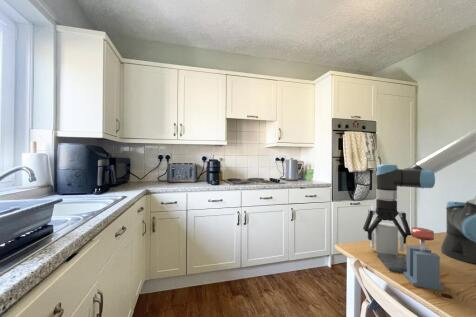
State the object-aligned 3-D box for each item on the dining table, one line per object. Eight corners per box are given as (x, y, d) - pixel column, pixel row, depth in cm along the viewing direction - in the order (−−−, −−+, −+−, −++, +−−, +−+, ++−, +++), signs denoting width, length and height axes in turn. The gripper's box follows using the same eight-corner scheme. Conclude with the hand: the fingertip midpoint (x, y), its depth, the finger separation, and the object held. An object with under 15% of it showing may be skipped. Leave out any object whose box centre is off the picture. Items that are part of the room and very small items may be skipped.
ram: (427, 258, 73) (427, 228, 73) (437, 266, 68) (437, 233, 68) (408, 256, 75) (408, 226, 75) (416, 263, 69) (416, 231, 69)
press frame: (430, 278, 73) (430, 248, 73) (443, 290, 66) (443, 256, 66) (403, 274, 76) (403, 245, 76) (413, 285, 69) (413, 253, 69)
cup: (401, 257, 89) (401, 228, 89) (380, 255, 91) (380, 227, 91) (391, 249, 97) (392, 223, 97) (372, 247, 99) (372, 221, 99)
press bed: (411, 260, 86) (411, 256, 86) (428, 276, 75) (428, 271, 75) (377, 256, 90) (377, 252, 90) (388, 270, 78) (388, 266, 78)
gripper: (413, 199, 94) (413, 248, 94) (355, 196, 101) (355, 242, 101) (422, 202, 87) (422, 256, 87) (359, 198, 94) (359, 248, 94)
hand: (386, 248), depth 94 cm, fingers open, 10 cm apart
